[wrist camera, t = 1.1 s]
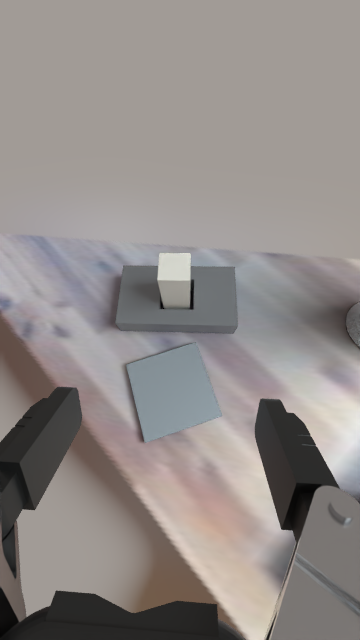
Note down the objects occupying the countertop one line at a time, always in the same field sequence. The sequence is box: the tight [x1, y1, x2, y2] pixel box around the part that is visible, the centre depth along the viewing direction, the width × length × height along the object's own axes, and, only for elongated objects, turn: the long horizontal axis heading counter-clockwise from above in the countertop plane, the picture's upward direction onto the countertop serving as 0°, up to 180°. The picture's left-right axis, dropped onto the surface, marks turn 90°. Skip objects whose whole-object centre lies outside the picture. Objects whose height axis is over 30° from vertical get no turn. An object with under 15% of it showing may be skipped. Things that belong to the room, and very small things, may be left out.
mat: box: [126, 342, 222, 443], centre depth 35 cm, size 11×11×1 cm
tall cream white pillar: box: [157, 253, 191, 310], centre depth 35 cm, size 4×4×11 cm
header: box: [115, 266, 238, 333], centre depth 39 cm, size 18×10×4 cm, turn 88°
